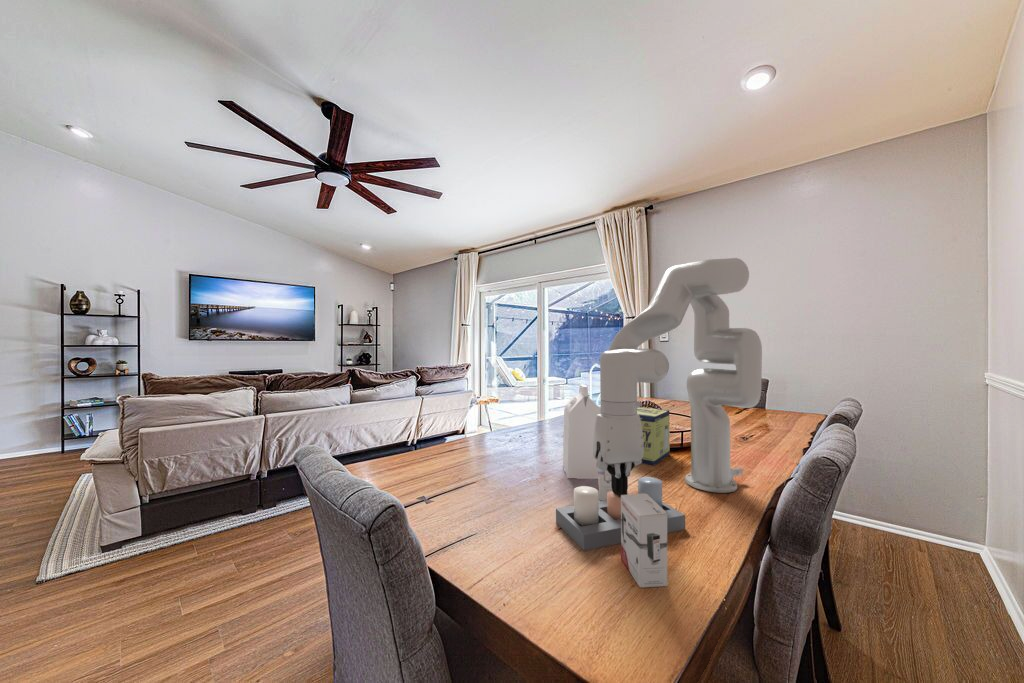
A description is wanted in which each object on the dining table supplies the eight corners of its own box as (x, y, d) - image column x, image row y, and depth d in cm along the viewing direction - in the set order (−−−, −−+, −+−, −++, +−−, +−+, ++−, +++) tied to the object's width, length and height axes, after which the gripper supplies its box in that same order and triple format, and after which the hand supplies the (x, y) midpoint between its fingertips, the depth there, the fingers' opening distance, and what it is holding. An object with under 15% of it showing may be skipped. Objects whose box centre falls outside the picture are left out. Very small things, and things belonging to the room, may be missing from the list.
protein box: (622, 459, 125) (622, 412, 125) (640, 449, 137) (640, 406, 136) (654, 466, 118) (654, 416, 118) (670, 454, 130) (670, 409, 130)
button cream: (590, 512, 81) (590, 484, 81) (603, 523, 76) (603, 493, 76) (569, 516, 79) (569, 488, 79) (581, 527, 74) (581, 497, 74)
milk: (608, 478, 108) (607, 387, 108) (567, 478, 108) (567, 388, 108) (598, 464, 120) (598, 383, 120) (562, 465, 120) (562, 383, 120)
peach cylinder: (622, 516, 83) (621, 489, 83) (636, 526, 79) (636, 498, 79) (602, 519, 82) (602, 492, 82) (616, 530, 77) (615, 501, 77)
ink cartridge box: (597, 487, 101) (596, 432, 101) (616, 488, 100) (616, 433, 100) (598, 500, 93) (597, 441, 93) (618, 502, 92) (618, 441, 92)
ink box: (619, 557, 68) (619, 493, 68) (645, 556, 69) (645, 492, 69) (639, 589, 60) (639, 515, 60) (669, 587, 60) (668, 513, 60)
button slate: (651, 502, 86) (651, 475, 86) (667, 511, 81) (667, 483, 81) (633, 505, 84) (633, 478, 84) (648, 514, 80) (648, 486, 80)
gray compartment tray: (647, 505, 90) (646, 493, 90) (685, 529, 78) (685, 514, 78) (555, 522, 82) (555, 508, 82) (583, 551, 71) (583, 535, 71)
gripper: (636, 403, 86) (637, 483, 86) (578, 407, 81) (579, 492, 81) (659, 408, 79) (660, 495, 79) (597, 414, 74) (598, 507, 74)
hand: (619, 493), depth 80 cm, fingers closed
